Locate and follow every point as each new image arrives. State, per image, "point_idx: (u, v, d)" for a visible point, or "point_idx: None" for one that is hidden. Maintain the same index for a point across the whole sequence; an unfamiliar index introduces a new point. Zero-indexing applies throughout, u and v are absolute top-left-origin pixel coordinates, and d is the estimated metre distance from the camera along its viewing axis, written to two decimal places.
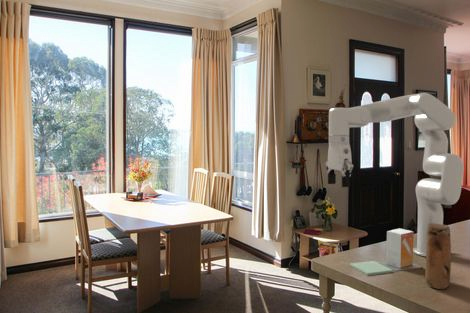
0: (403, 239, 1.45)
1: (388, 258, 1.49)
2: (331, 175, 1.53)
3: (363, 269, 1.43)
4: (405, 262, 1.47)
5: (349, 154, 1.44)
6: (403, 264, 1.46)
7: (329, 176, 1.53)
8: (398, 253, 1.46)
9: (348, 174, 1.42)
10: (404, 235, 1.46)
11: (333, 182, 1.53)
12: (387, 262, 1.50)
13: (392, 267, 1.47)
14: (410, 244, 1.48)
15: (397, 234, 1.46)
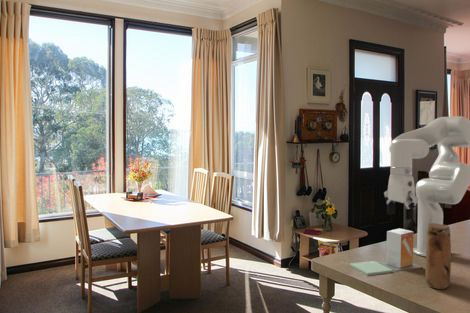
0: (403, 239, 1.45)
1: (388, 258, 1.49)
2: (391, 206, 1.53)
3: (363, 269, 1.43)
4: (405, 262, 1.47)
5: (413, 186, 1.44)
6: (403, 264, 1.46)
7: (389, 207, 1.52)
8: (398, 253, 1.46)
9: (412, 207, 1.42)
10: (404, 235, 1.46)
11: (393, 213, 1.53)
12: (387, 262, 1.50)
13: (392, 267, 1.47)
14: (410, 244, 1.48)
15: (397, 234, 1.46)
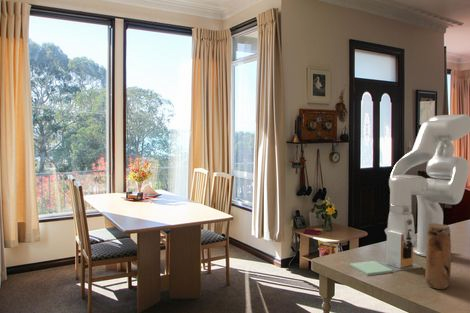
0: None
1: (388, 258, 1.49)
2: None
3: (363, 269, 1.43)
4: (406, 262, 1.47)
5: (412, 225, 1.45)
6: (403, 264, 1.46)
7: None
8: (398, 253, 1.46)
9: (410, 246, 1.44)
10: None
11: None
12: (387, 262, 1.50)
13: (392, 267, 1.47)
14: None
15: (397, 234, 1.46)
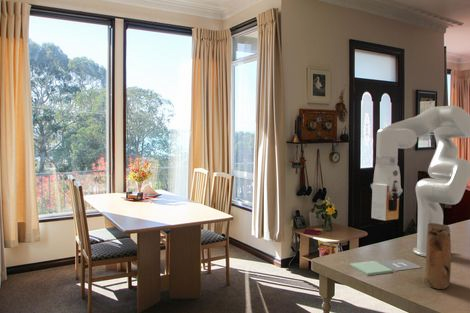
0: None
1: (373, 211, 1.46)
2: None
3: (363, 269, 1.43)
4: (391, 215, 1.44)
5: (398, 176, 1.42)
6: (388, 216, 1.43)
7: None
8: (383, 205, 1.42)
9: (396, 198, 1.41)
10: None
11: None
12: (372, 216, 1.46)
13: (392, 267, 1.47)
14: None
15: (383, 186, 1.43)
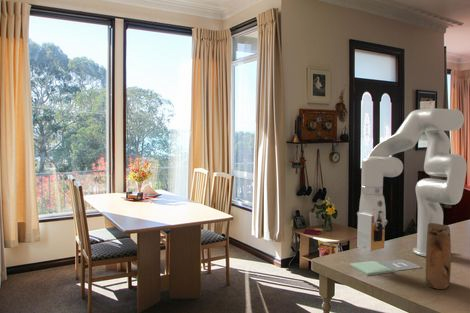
0: None
1: (359, 241, 1.45)
2: None
3: (363, 269, 1.43)
4: (376, 245, 1.42)
5: (383, 206, 1.40)
6: (374, 247, 1.42)
7: None
8: (368, 235, 1.41)
9: (381, 228, 1.39)
10: None
11: None
12: (358, 245, 1.45)
13: (392, 267, 1.47)
14: None
15: (368, 216, 1.41)
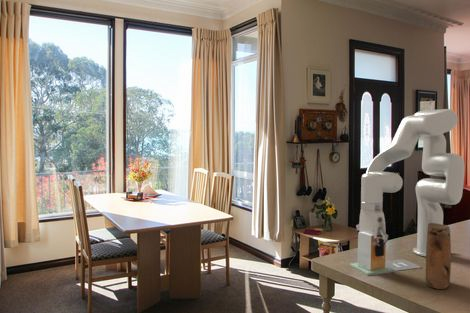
0: (373, 241, 1.41)
1: (359, 260, 1.45)
2: None
3: (363, 269, 1.43)
4: (377, 265, 1.43)
5: (383, 222, 1.41)
6: (374, 266, 1.42)
7: None
8: (368, 255, 1.42)
9: (382, 244, 1.39)
10: None
11: None
12: (358, 264, 1.46)
13: (392, 267, 1.47)
14: None
15: (367, 235, 1.42)
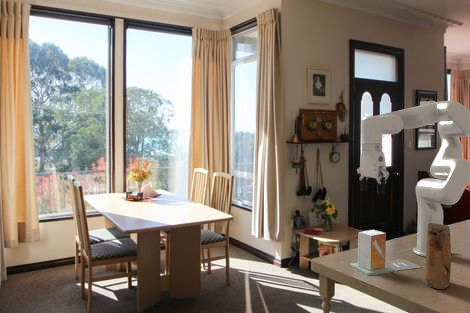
0: (373, 241, 1.41)
1: (359, 260, 1.45)
2: (364, 182, 1.55)
3: (363, 269, 1.43)
4: (377, 265, 1.43)
5: (383, 161, 1.47)
6: (374, 266, 1.42)
7: (362, 183, 1.55)
8: (368, 255, 1.42)
9: (384, 181, 1.45)
10: (375, 236, 1.42)
11: (366, 189, 1.56)
12: (358, 264, 1.46)
13: (392, 267, 1.47)
14: (382, 245, 1.44)
15: (367, 235, 1.42)
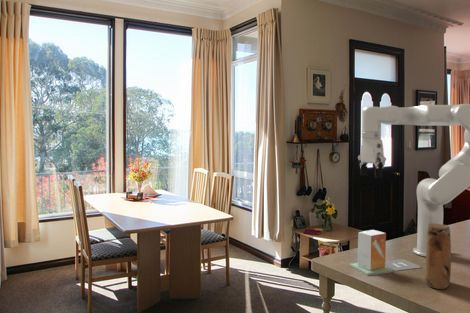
0: (373, 241, 1.41)
1: (359, 260, 1.45)
2: (363, 168, 1.69)
3: (363, 269, 1.43)
4: (377, 265, 1.43)
5: (381, 148, 1.60)
6: (374, 266, 1.42)
7: (362, 168, 1.69)
8: (368, 255, 1.42)
9: (381, 166, 1.59)
10: (375, 236, 1.42)
11: (365, 174, 1.70)
12: (358, 264, 1.46)
13: (392, 267, 1.47)
14: (382, 245, 1.44)
15: (367, 235, 1.42)
